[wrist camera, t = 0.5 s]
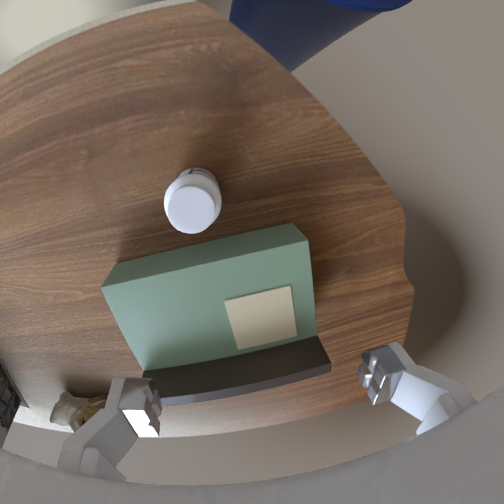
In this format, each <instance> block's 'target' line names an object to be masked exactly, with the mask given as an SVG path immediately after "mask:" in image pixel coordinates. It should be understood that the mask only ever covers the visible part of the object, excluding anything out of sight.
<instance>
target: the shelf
mask: <svg viewBox="0 0 504 504" xmlns="http://www.w3.org/2000/svg"><path fill="white" fill-rule="evenodd" d="M101 290H102V292H103V294H104V296H105V298H106V301H107V303H108V305H109V307H110V309H111V311H112V313H113V315H114V317H115V319H116V321H117V323H118V325H119V327H120V329H121V331H122V333H123V335H124V337H125V339H126V340H127V342H128V344H129V346H130V348H131V350H132V351H133V353H134V355H135V357H136V358H137V360H138V362H139V364H140V365H141V367H142V369H143V370H144V371H143V376H142V378H152V379H153V381H154V383H155V390H157V391H158V392H159V395H160V398H161V406H170V405H179V404H187V403H194V402H201V401H208V400H214V399H220V398H226V397H231V396H237V395H242V394H247V393H251V392H256V391H261V390H265V389H269V388H274V387H278V386H282V385H286V384H290V383H293V382H297V381H301V380H304V379H308V378H311V377H315V376H318V375H322V374H325V373H328V372H331V361H330V359H329V357H328V355H327V353H326V352H325V350H324V348H323V346H322V344H321V342H320V340H319V338H318V336H317V326H316V313H315V301H314V290H313V279H312V269H311V259H310V250H309V242H308V239H307V238H306V237H305V236H304V235H303V234H302V232H301V231H300V230H299V229H298V228H297V227H296V226H295V225H294V224H293V223H288V224H283V225H278V226H274V227H269V228H265V229H260V230H256V231H251V232H247V233H242V234H238V235H234V236H229V237H225V238H220V239H216V240H212V241H207V242H203V243H199V244H195V245H190V246H186V247H182V248H178V249H174V250H169V251H165V252H161V253H157V254H153V255H149V256H145V257H141V258H137V259H132V260H128V261H124V262H120V263H116V264H115V266H114V267H113V269H112V270H111V272H110V273H109V275H108V276H107V278H106V280H105V281H104V283H103V284H102V286H101Z"/></svg>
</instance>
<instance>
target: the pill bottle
mask: <svg viewBox="0 0 504 504" xmlns="http://www.w3.org/2000/svg"><path fill="white" fill-rule="evenodd" d="M221 205H222V198H221V193H220V188H219V184H218V181H217V179H216V178H215V176H214V175H213V174H212V173H210V172H209V171H207V170H205V169H202V168H191V169H187V170H185V171H183V172H182V173H180V174H179V175H178V176H177V177H176V178H175V180H174V181H173V182H172V183H171V184H170V186H169V187H168V189H167V191H166V194H165V198H164V208H165V212H166V214H167V216H168V218H169V221H170V222H171V224H172V225H173V226H174V227H175V228H176V229H177V230H179V231H181V232H184V233H189V234H194V233H198V232H201V231H203V230H205V229H206V228H207V227H209V225H210V224H212V223H213V222H214V221H215V220H216V218H217V217H218V215H219V213H220V210H221Z"/></svg>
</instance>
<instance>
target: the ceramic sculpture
mask: <svg viewBox="0 0 504 504" xmlns="http://www.w3.org/2000/svg"><path fill="white" fill-rule="evenodd" d="M107 398H108V396H106V395H100V396H96V397H94V398H80V397H73V396H72V395H71V394H70V393H69V392H67V391H65V392H63V393H62V394H61V395H60V399H59V401H58V402H57V403H56V404H55V406H54V408H53V411H52V413H51V417H50V422H51V423H56V424H59V425H62V426H65V425H66V426H71V428H72V430H73V431H74V432H76V431H77V430H78V429H79V428H80V427H81V426H82V425H83V424H85V423H86V422H87V421H88V420H89V419H90V418H91V417H92V416H94V415H95V414H96V413H97V412H98V411H99V410H100V409H105V405H106V401H107Z"/></svg>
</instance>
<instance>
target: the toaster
mask: <svg viewBox="0 0 504 504" xmlns="http://www.w3.org/2000/svg"><path fill="white" fill-rule="evenodd" d="M20 405H22V406H25V407H27V408H29V407H28V405H27V404H26V402H25V400H24V399H23V397H22V395H21V394H20V392H19V390H18V389H17V387H16V385H15V383H14V382H13V380H12V378H11V376H10V374H9V372H8V370H7V369H6V367H5V365H4V363H3V361H2V359H0V448H1V449H2V446H3V444H4V441H5V438H6V436H7V433H8V431H9V429H10V426H11V424H12V421H13V419H14V417H15V415H16V412H17V410H18V408H19V406H20Z"/></svg>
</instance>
